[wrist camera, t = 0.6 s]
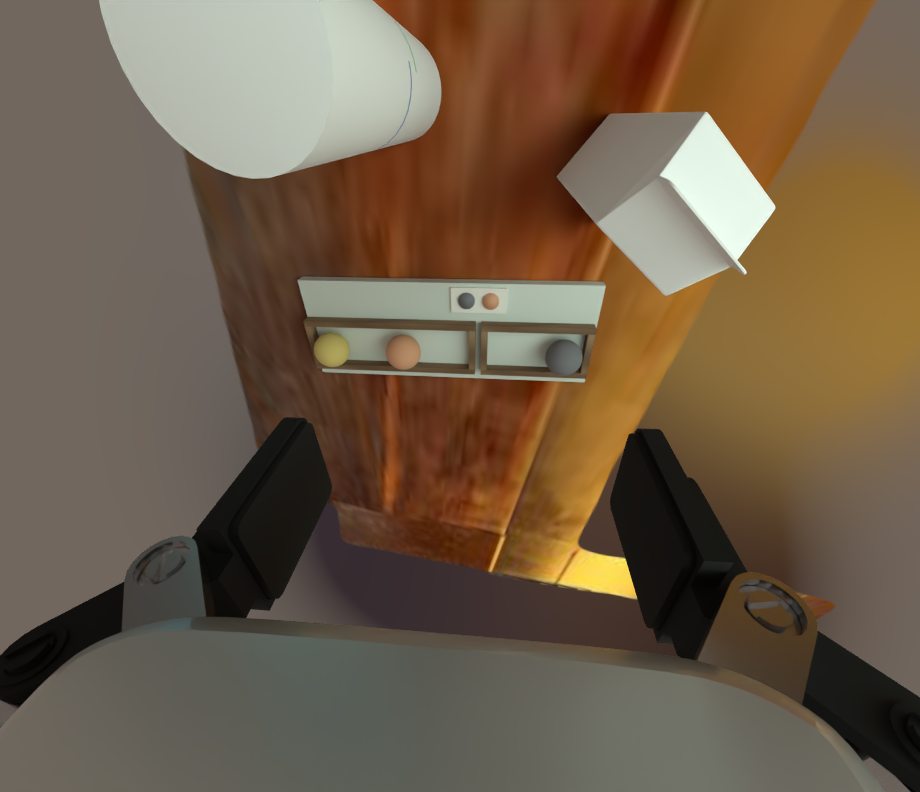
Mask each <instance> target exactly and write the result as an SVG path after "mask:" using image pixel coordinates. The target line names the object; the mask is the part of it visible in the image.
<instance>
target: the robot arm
mask: <svg viewBox="0 0 920 792" xmlns="http://www.w3.org/2000/svg"><path fill="white" fill-rule="evenodd" d="M331 490H332V484H331V481H330V478H329V474H328V471H327V468H326V465H325V462H324V459H323V456H322V453H321V450H320V447H319V443H318V440H317V437H316V434H315V431H314V428H313V425H312V424H311V423H308V422H307V420H306V419H305V418H289V417H286V418H284V419H282V420H281V422H280V423H279V424H278V425H277V427H276V428H275V429H274V431H273V432H272V433H271V434H270V436H269V437H268V438H267V440H266V441H265V442H264V443H263V445H262V446H261V447H260V449H259V450H258V451H257V452H256V454H255V455H254V456H253V457H252V459H251V460H250V461H249V463H248V464H247V465H246V466H245V468H244V469H243V470H242V472H241V473H240V474H239V475H238V477H237V478H236V479H235V481H234V482H233V483H232V484H231V486H230V487H229V488H228V490H227V491H226V492H225V493H224V495H223V496H222V497H221V498H220V500H219V501H218V502H217V504H216V505H215V506H214V508H213V509H212V510H211V511H210V513H209V514H208V515H207V516H206V518H205V519H204V520H203V521H202V523H201V524H200V525H199V527H198V528H197V532H196V533H195V535H194V536H193V537H192V538H190V537H187V536H176V537H170V538H168V539H165V540H162V541H160V542H158V543H156V544H154V545H152V546H150V547H149V548H148V549H146V550H145V551H144V552H142V553H141V554H140V555H139V556H138V557H137V558H136V559H135V560H134V561H133V563H132V564H131V565H130V567H129V569H128V570H127V573H126V576H125V580H124V582H123V583H121V584H119V585H117V586H115V587H113V588H111V589H109V590H107V591H105V592H104V593H102V594H100V595H98V596H96V597H94V598H92V599H90V600H88V601H86V602H84V603H82V604H80V605H78V606H76V607H74V608H72V609H71V610H69V611H67V612H65V613H63V614H61V615H59V616H57V617H55V618H53V619H51V620H49V621H47V622H45V623H44V624H42V625H40V626H38V627H36V628H34V629H33V630H31V631H30V632H28V633H26V634H24V635H23V636H22V637H20V638H19V639H18V640H17V641H15V642H14V643H13V644H12V645H10V646H9V647H8V648H7V649H6V650H5V651H4V652H3V654H1V655H0V792H920V697H918V696H917V695H915V694H914V693H912V692H911V691H909V690H907V689H906V688H904V687H903V686H901V685H900V684H898V683H897V682H895V681H894V680H892V679H891V678H889V677H887V676H886V675H885V674H883V673H882V672H880V671H878V670H877V669H875V668H874V667H872V666H871V665H869V664H868V663H866V662H865V661H863V660H862V659H860V658H859V657H857V656H855V655H854V654H852V653H851V652H849V651H848V650H846V649H845V648H843V647H842V646H840V645H838V644H837V643H836V642H834V641H833V640H831V639H829V638H828V637H826V636H825V635H823V634H822V633H820V632H819V631H817V622H816V619H815V617H814V614H813V612H812V611H811V609H810V608H809V606H808V605H807V604H806V602H805V601H804V600H803V599H802V598H801V597H800V596H799V595H798V594H797V593H796V592H795V591H793V590H792V589H790V588H789V587H788V586H786V585H785V584H783V583H782V582H780V581H778V580H776V579H774V578H772V577H769V576H767V575H763V574H759V573H748V572H747V570H746V569H745V567H744V565H743V564H742V562H741V560H740V558H739V557H738V555H737V553H736V551H735V549H734V548H733V546H732V544H731V542H730V541H729V539H728V537H727V535H726V533H725V532H724V530H723V528H722V526H721V525H720V523H719V521H718V519H717V518H716V516H715V514H714V513H713V511H712V509H711V507H710V505H709V503H708V502H707V500H706V498H705V496H704V495H703V493H702V491H701V489H700V488H699V486H698V484H697V483H696V482H695V480H693V479H692V478H687V476H686V474H685V473H684V471H683V469H682V467H681V465H680V463H679V462H678V460H677V458H676V456H675V454H674V452H673V451H672V449H671V447H670V445H669V443H668V442H667V440H666V438H665V436H664V434H663V432H662V431H661V430H659V429H637V430H636V431H635V434H632V433H631V434H629V436H628V439H627V442H626V446H625V449H624V453H623V456H622V460H621V463H620V466H619V470H618V474H617V477H616V480H615V484H614V487H613V491H612V494H611V500H610V503H611V504H610V505H611V511H612V514H613V517H614V521H615V524H616V527H617V531H618V534H619V537H620V541H621V544H622V548H623V551H624V555H625V558H626V561H627V565H628V568H629V572H630V575H631V578H632V582H633V585H634V588H635V592H636V595H637V599H638V602H639V605H640V609H641V612H642V616H643V619H644V622H645V624H646V626H647V627H648V628H653V630H654V633H655V637H656V640H657V642H658V643H669V644H674V647H675V650H676V653H677V655H678V656H680V657H681V658H679V657H673V656H666V655H660V654H654V653H645V652H635V651H625V650H617V649H608V648H598V647H589V646H577V645H567V644H556V643H544V642H534V641H522V640H511V639H500V638H489V637H478V636H466V635H454V634H442V633H431V632H419V631H407V630H395V629H383V628H382V629H381V628H371V627H359V626H345V625H333V624H320V623H308V622H295V621H283V620H267V619H250V618H246V617H247V615H248V613H249V611H250V609H257V610H270V608H271V607H272V605H273V602H274V601H275V599H277V598H280V596H281V595H282V594H283V592H284V590H285V588H286V586H287V584H288V582H289V580H290V578H291V576H292V573H293V571H294V569H295V567H296V565H297V563H298V561H299V559H300V557H301V555H302V553H303V550H304V549H305V546H306V544H307V542H308V540H309V538H310V536H311V534H312V532H313V530H314V528H315V526H316V524H317V521H318V519H319V517H320V515H321V513H322V511H323V509H324V507H325V505H326V503H327V501H328V499H329V497H330V494H331Z"/></svg>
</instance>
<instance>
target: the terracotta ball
mask: <svg viewBox="0 0 920 792" xmlns="http://www.w3.org/2000/svg"><path fill="white" fill-rule="evenodd" d="M420 356H421V349H420V346H419V344H418V342H417V341H416V340H415V339H414V338H412V337H411V336H408V335H398V336H395V337H394V338H392V339H391V340H390V341H389V342H388V344H387V347H386V357H387V360H388V361H389V363H390V364H391V365H392V366H393V367H395V368H397V369H401V370H406V369H410V368H412V367H414V366H415V365H416V364H417V363H418V361H419V359H420Z"/></svg>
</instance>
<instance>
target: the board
mask: <svg viewBox="0 0 920 792" xmlns="http://www.w3.org/2000/svg"><path fill="white" fill-rule="evenodd" d="M297 281H298V284H299V288H300V291H301V295H302V299H303V302H304V306H305V309H306V313H307V316H308V317H343V318H381V319H419V320H457V321H476V356H475V374H449V373H423V372H397V371H371V370H345V369H322V370H323V372H337V373H362V374H388V375H413V376H439V377H464V378H489V379H515V380H540V381H565V382H585V379H578V378H552V377H526V376H500V375H481V327H482V321H495V322H533V323H571V324H595V326H596V328H597V323H598V319H599V314H600V310H601V305H602V301H603V296H604V292H605V287H606V285H605V284H604V282H596V281H536V280H476V279H416V278H357V277H301V278H300V279H298V280H297ZM316 329H317V332H318V336H319V337H320V336H321V335H323V334H325V333H337V334H339V335H341V336H343V337H344V338H345V339H346V340H347V342H348V344H349V347H350V354H349V357H348V359H347V360H372V361H388V360H387V357H386V347H387V344H388V342H389V341H390V340H391V339H392V338H394V337H395V336H398V335H408V336H411V337H412V338H414V339H415V340H416V341H417V342H418V344H419V346H420V349H421V356H420V359H419V361H418V362H427V363H454V364H469V331H439V330H405V329H370V328H335V327H316ZM585 336H586V335H579V334H544V333H509V332H488V347H487V365H510V366H537V367H547V365H546V362H545V355H546V351H547V349H548V348H549V346H550V345H551V344H553V343H554V342H556V341H558V340H570V341H573V342H574V343H576V344H577V345H578V346H579V347H580V349H581V351H583V346H584V341H585Z"/></svg>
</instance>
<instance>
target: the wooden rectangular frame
mask: <svg viewBox="0 0 920 792" xmlns="http://www.w3.org/2000/svg"><path fill="white" fill-rule="evenodd" d="M596 330H597V329H596V326H595V324H571V323H533V322H495V321H482V327H481V375H500V376H526V377H552V378H578V379H586V375H587V371H588V366H589V362H590V357H591V352H592V348H593V343H594V339H595V334H596ZM488 332H509V333H544V334H579V335H586V336H585V341H584V346H583V351H582V356H583V358H582V363H581V365H580V367H579V368H578V370H577V371H576V372H574V373H572V374H570V375H567V376H560V375H556V374H554V373H553V372H551V371H550V370H549V368H548V367H537V366H510V365H487V347H488Z"/></svg>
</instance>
